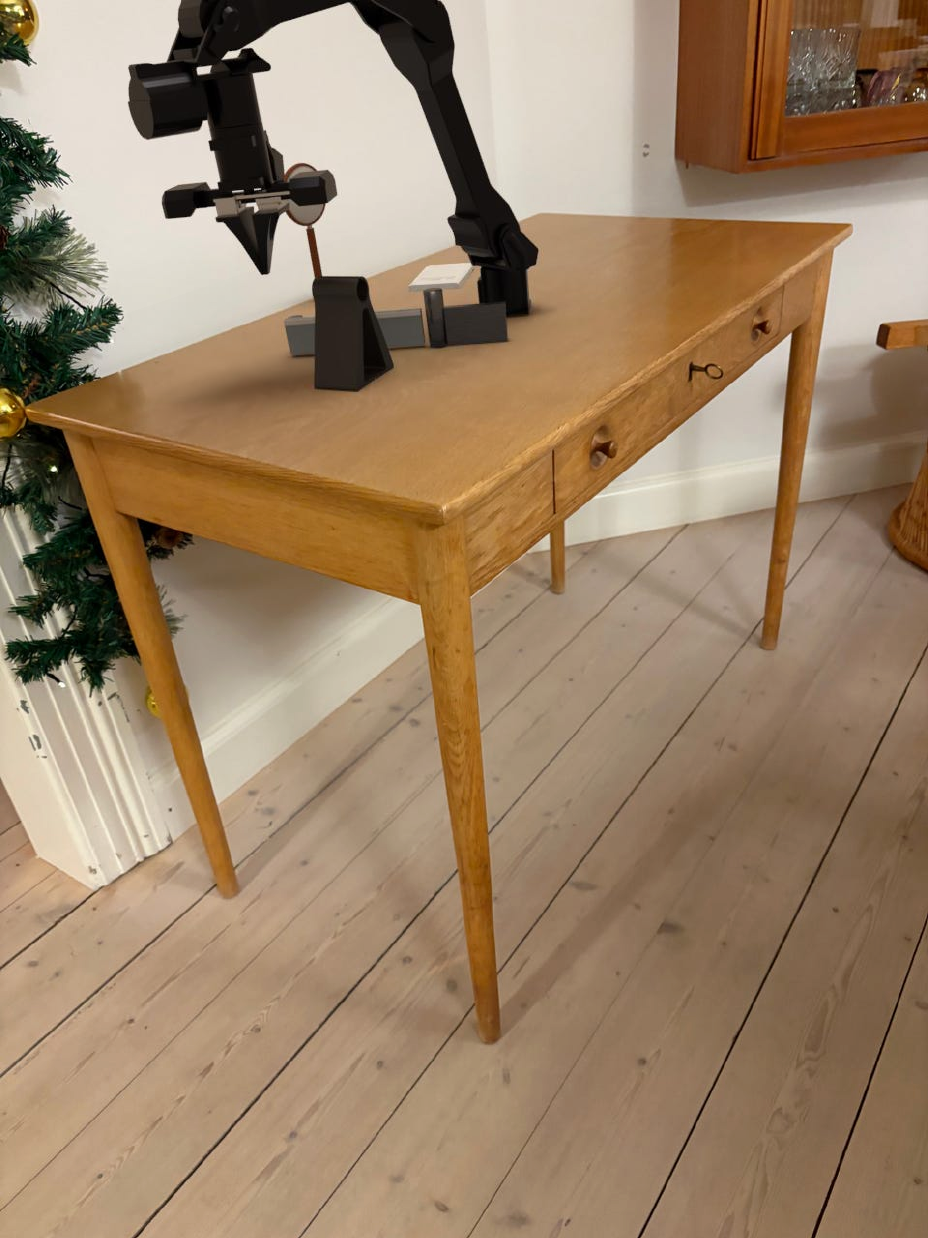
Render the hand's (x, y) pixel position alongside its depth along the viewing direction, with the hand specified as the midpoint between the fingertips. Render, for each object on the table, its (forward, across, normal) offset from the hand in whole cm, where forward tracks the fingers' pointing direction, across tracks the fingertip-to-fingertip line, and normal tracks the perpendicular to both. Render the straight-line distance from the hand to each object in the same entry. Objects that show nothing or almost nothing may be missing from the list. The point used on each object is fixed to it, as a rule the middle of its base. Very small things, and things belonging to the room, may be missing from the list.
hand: (265, 273), depth 114 cm
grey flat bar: (+13, -7, -11) cm, 18 cm away
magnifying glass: (+13, +4, -39) cm, 41 cm away
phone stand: (+13, -8, 0) cm, 16 cm away
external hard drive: (+14, -14, -47) cm, 51 cm away
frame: (+13, -12, -12) cm, 21 cm away
